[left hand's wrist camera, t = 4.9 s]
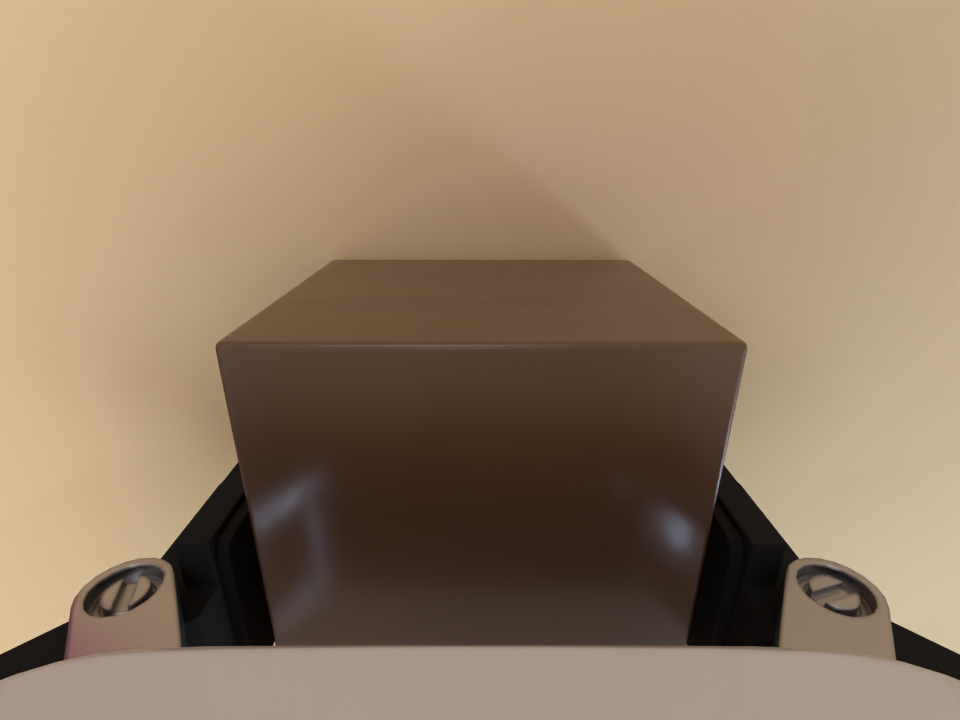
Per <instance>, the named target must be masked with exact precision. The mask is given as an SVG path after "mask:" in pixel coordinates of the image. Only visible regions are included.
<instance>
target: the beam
mask: <svg viewBox="0 0 960 720" xmlns="http://www.w3.org/2000/svg"><path fill="white" fill-rule="evenodd" d="M746 352H747V345H746V343H745V342H744V341H742V340H741V339H739V338H738V337H736V336H735V335H734V334H732V333H731V332H729V331H728V330H727V329H725V328H724V327H722V326H721V325H719V324H718V323H717V322H715V321H714V320H712V319H711V318H710V317H708V316H707V315H705V314H704V313H702V312H701V311H700V310H698V309H697V308H695V307H694V306H693V305H691V304H690V303H688V302H687V301H685V300H684V299H683V298H681V297H680V296H678V295H677V294H676V293H674V292H673V291H671V290H670V289H668V288H667V287H666V286H664V285H663V284H661V283H660V282H659V281H657V280H656V279H654V278H653V277H651V276H650V275H649V274H647V273H646V272H644V271H643V270H642V269H640V268H639V267H637V266H636V265H634V264H633V263H632V262H630V261H628V260H334V261H332V262H330V263H329V264H328V265H326V266H325V267H323V268H322V269H320V270H319V271H318V272H316V273H315V274H313V275H312V276H311V277H309V278H308V279H306V280H305V281H304V282H302V283H301V284H299V285H298V286H296V287H295V288H294V289H292V290H291V291H289V292H288V293H287V294H285V295H284V296H282V297H281V298H280V299H278V300H277V301H275V302H274V303H272V304H271V305H270V306H268V307H267V308H265V309H264V310H263V311H261V312H260V313H258V314H257V315H256V316H254V317H253V318H251V319H250V320H249V321H247V322H246V323H244V324H243V325H241V326H240V327H239V328H237V329H236V330H234V331H233V332H232V333H230V334H229V335H227V336H226V337H225V338H223V339H222V340H220V341H219V342H217V344H216V353H217V358H218V363H219V368H220V373H221V378H222V383H223V388H224V393H225V397H226V402H227V407H228V412H229V417H230V422H231V427H232V432H233V437H234V442H235V447H236V452H237V457H238V461H239V466H240V471H241V476H242V481H243V486H244V491H245V496H246V501H247V506H248V511H249V516H250V521H251V525H252V530H253V535H254V540H255V545H256V550H257V555H258V560H259V565H260V570H261V575H262V580H263V585H264V589H265V594H266V599H267V604H268V609H269V614H270V619H271V624H272V629H273V634H274V639H275V644H276V646H340V645H619V646H686V644H687V640H688V635H689V630H690V625H691V620H692V615H693V610H694V606H695V601H696V596H697V591H698V586H699V581H700V576H701V571H702V567H703V562H704V557H705V552H706V547H707V542H708V537H709V532H710V528H711V523H712V518H713V513H714V508H715V503H716V498H717V493H718V489H719V484H720V479H721V474H722V469H723V464H724V459H725V454H726V450H727V445H728V440H729V435H730V430H731V425H732V420H733V415H734V411H735V406H736V401H737V396H738V391H739V386H740V381H741V376H742V372H743V367H744V362H745V357H746Z"/></svg>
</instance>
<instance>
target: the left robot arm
mask: <svg viewBox="0 0 960 720" xmlns="http://www.w3.org/2000/svg"><path fill="white" fill-rule="evenodd" d="M274 641H275V639H274V634H273V629H272V624H271V619H270V614H269V609H268V604H267V599H266V594H265V589H264V585H263V580H262V575H261V570H260V565H259V560H258V555H257V550H256V545H255V540H254V535H253V530H252V525H251V521H250V516H249V511H248V506H247V501H246V496H245V491H244V486H243V481H242V476H241V471H240V466H239V462H238V463H237V465H236V466H235V467H234V468H233V470H232V471H231V472H230V473H229V475H228V476H227V477H226V478H225V480H224V481H223V482H222V483H221V484H220V485H219V486H218V487H217V489H216V490H215V491H214V492H213V494H212V495H211V496H210V497H209V499H208V500H207V501H206V502H205V504H204V505H203V506H202V507H201V509H200V510H199V511H198V513H197V514H196V515H195V516H194V518H193V519H192V520H191V521H190V523H189V524H188V525H187V526H186V528H185V529H184V530H183V531H182V533H181V534H180V535H179V537H178V538H177V539H176V540H175V542H174V543H173V544H172V545H171V547H170V548H169V549H168V550H167V552H166V553H165V554H164V555H163V557H162V558H161V559H157V558H141V559H136V560H132V561H128V562H124V563H122V564H119V565H117V566H115V567H112V568H110V569H108V570H106V571H105V572H103V573H101V574H100V575H98V576H96V577H95V578H94V579H92V580H91V581H90V582H89V583H88V584H86V585H85V586H84V587H83V588H82V589H81V591H80V592H79V593H78V594H77V596H76V597H75V598H74V601H73V604H72V606H71V611H70V618H69V622H67V623H65V624H63V625H61V626H59V627H56V628H54V629H52V630H50V631H48V632H46V633H44V634H42V635H40V636H38V637H36V638H34V639H32V640H30V641H27V642H25V643H23V644H21V645H19V646H17V647H15V648H13V649H11V650H9V651H7V652H5V653H3V654H1V655H0V720H960V655H959V654H957V653H955V652H953V651H951V650H949V649H947V648H945V647H943V646H941V645H939V644H937V643H935V642H933V641H930V640H928V639H926V638H924V637H922V636H920V635H918V634H916V633H914V632H912V631H910V630H908V629H906V628H904V627H901V626H899V625H897V624H895V623H893V622H891V618H890V611H889V606H888V604H887V601H886V598H885V597H884V596H883V594H882V593H881V592H880V591H879V589H878V588H877V587H876V586H875V585H874V584H872V583H871V582H870V581H869V580H868V579H866V578H865V577H864V576H862V575H860V574H859V573H857V572H855V571H854V570H852V569H850V568H848V567H845V566H843V565H841V564H838V563H836V562H832V561H828V560H824V559H819V558H803V559H799V558H798V557H797V555H796V554H795V553H794V552H793V550H792V549H791V548H790V547H789V545H788V544H787V543H786V542H785V540H784V539H783V538H782V536H781V535H780V534H779V533H778V531H777V530H776V529H775V528H774V526H773V525H772V524H771V523H770V521H769V520H768V519H767V518H766V516H765V515H764V514H763V513H762V511H761V510H760V509H759V507H758V506H757V505H756V504H755V502H754V501H753V500H752V499H751V497H750V496H749V495H748V494H747V492H746V491H745V490H744V489H743V487H742V486H741V485H740V484H739V483H738V482H737V481H736V480H735V478H734V477H733V476H732V475H731V473H730V472H729V471H728V470H727V468H726V467H725V466H724V465H723V469H722V474H721V479H720V484H719V489H718V493H717V498H716V503H715V508H714V513H713V518H712V523H711V528H710V532H709V537H708V542H707V547H706V552H705V557H704V562H703V567H702V571H701V576H700V581H699V586H698V591H697V596H696V601H695V606H694V610H693V615H692V620H691V625H690V630H689V635H688V640H687V646H619V645H340V646H273V644H274Z"/></svg>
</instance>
